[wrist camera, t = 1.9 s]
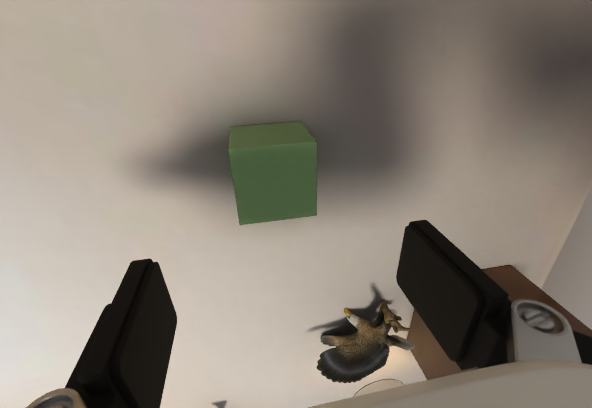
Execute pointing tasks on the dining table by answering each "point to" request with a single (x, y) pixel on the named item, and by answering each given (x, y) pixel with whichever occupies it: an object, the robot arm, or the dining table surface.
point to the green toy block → (273, 171)
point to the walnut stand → (517, 288)
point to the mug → (379, 386)
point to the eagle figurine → (361, 347)
